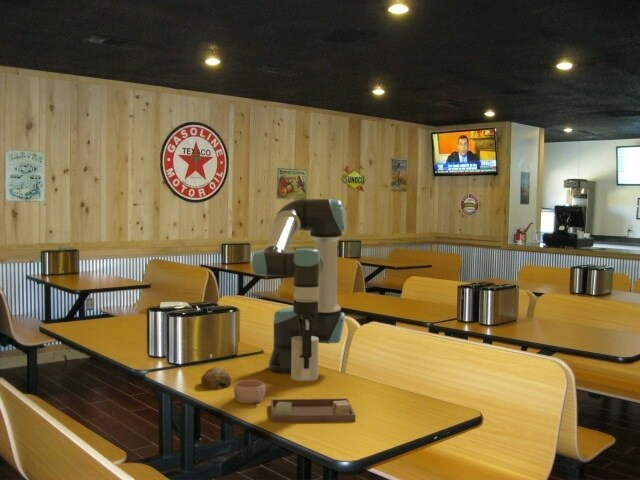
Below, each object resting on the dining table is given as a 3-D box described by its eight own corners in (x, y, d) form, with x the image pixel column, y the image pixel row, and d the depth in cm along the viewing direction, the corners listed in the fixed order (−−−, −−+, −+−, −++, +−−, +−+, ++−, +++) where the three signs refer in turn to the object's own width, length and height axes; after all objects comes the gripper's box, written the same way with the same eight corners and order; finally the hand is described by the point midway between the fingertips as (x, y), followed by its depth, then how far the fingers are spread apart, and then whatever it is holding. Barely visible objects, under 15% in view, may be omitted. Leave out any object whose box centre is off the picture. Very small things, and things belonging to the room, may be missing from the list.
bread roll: (207, 400, 224) (213, 381, 221) (193, 381, 231) (198, 363, 228) (232, 395, 230) (238, 376, 227) (217, 377, 237) (223, 358, 234)
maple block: (332, 414, 198) (333, 401, 198) (345, 413, 199) (345, 400, 199) (336, 418, 194) (337, 405, 194) (349, 417, 195) (350, 404, 195)
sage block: (278, 414, 197) (278, 401, 196) (291, 415, 196) (292, 402, 196) (275, 419, 193) (275, 405, 192) (288, 420, 192) (289, 406, 192)
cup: (288, 380, 198) (288, 340, 197) (294, 373, 206) (295, 334, 205) (314, 382, 196) (315, 341, 196) (320, 375, 204) (321, 336, 204)
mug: (228, 400, 212) (228, 381, 212) (255, 395, 218) (255, 377, 218) (246, 410, 202) (246, 391, 202) (274, 405, 208) (274, 386, 208)
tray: (270, 407, 206) (270, 399, 206) (347, 406, 208) (347, 398, 208) (272, 424, 190) (272, 416, 190) (355, 423, 192) (355, 414, 192)
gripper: (291, 295, 210) (290, 366, 211) (295, 305, 189) (294, 384, 190) (315, 295, 211) (313, 366, 212) (321, 305, 190) (320, 384, 191)
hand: (304, 374), depth 201 cm, fingers closed on cup, 8 cm apart
